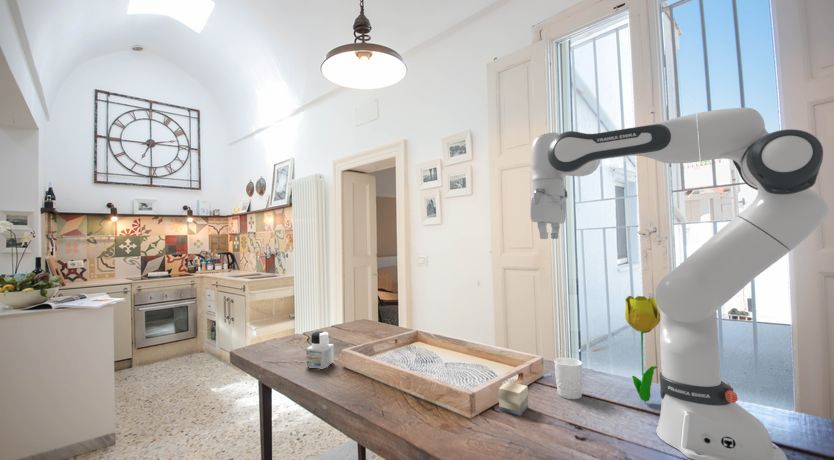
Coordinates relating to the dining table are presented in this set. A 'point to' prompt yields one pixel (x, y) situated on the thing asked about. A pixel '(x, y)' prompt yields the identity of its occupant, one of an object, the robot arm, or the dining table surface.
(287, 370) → the dining table surface
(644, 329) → the flower
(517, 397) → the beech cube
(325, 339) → the container
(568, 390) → the white cup
